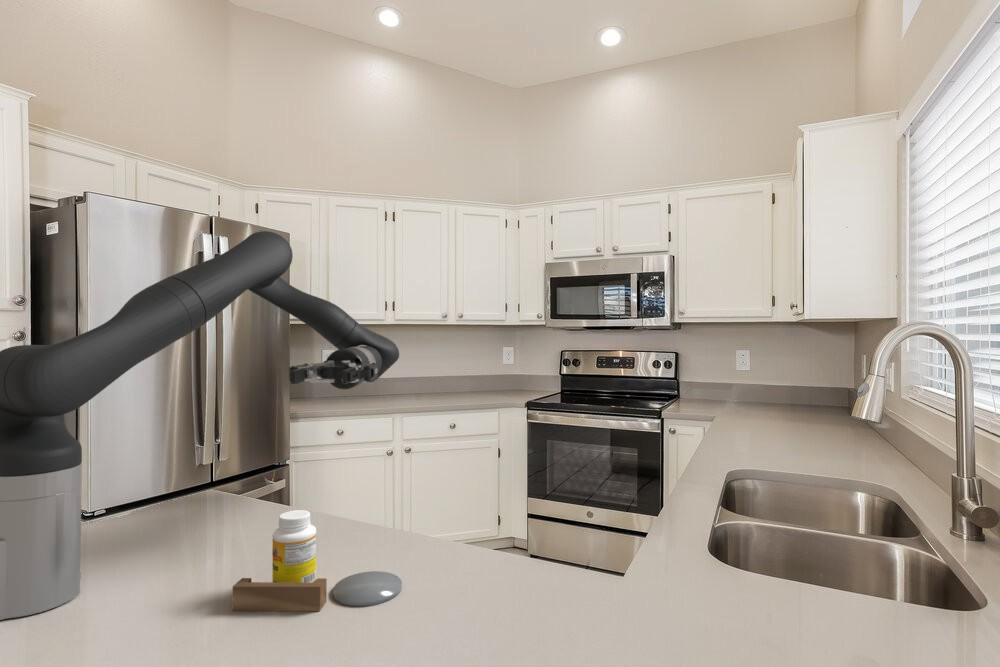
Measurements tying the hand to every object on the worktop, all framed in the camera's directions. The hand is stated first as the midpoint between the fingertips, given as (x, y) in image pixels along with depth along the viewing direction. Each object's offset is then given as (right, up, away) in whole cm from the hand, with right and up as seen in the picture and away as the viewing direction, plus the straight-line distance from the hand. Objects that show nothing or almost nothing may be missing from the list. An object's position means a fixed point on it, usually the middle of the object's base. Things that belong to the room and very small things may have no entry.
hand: (318, 377), depth 86 cm
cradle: (+1, -28, -19) cm, 33 cm away
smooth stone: (+11, -28, -14) cm, 33 cm away
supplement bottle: (+1, -28, -14) cm, 31 cm away
